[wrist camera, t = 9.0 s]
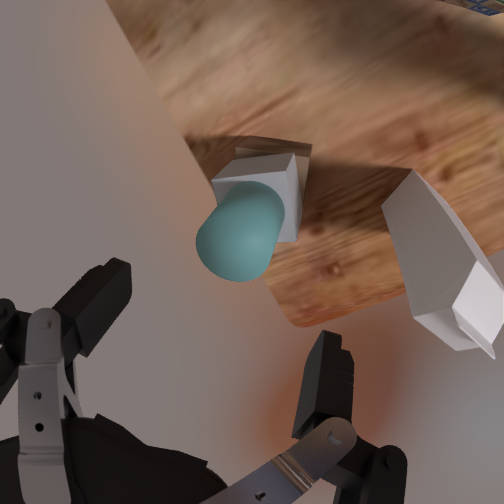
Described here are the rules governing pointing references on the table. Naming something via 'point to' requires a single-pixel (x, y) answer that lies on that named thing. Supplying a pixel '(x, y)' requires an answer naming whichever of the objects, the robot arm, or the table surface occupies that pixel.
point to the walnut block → (271, 146)
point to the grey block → (273, 175)
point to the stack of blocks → (481, 5)
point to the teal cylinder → (241, 232)
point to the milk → (443, 268)
